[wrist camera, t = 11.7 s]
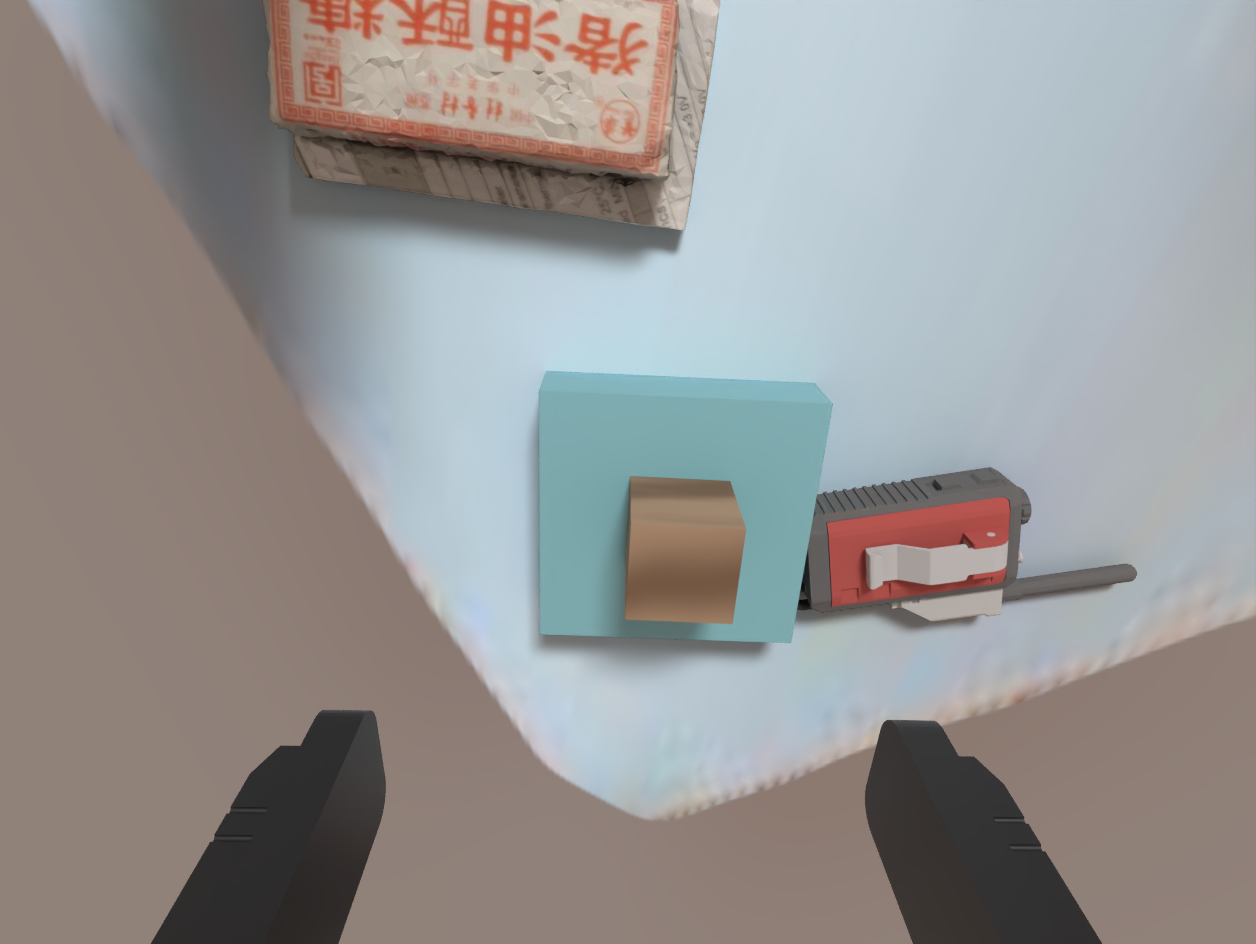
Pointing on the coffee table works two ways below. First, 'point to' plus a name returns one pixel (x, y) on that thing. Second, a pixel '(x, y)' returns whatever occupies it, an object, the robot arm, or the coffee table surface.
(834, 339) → the coffee table surface
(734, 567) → the walnut block
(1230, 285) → the coffee table surface
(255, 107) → the coffee table surface
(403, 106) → the packaged product
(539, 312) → the coffee table surface
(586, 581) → the teal base block
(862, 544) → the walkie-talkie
